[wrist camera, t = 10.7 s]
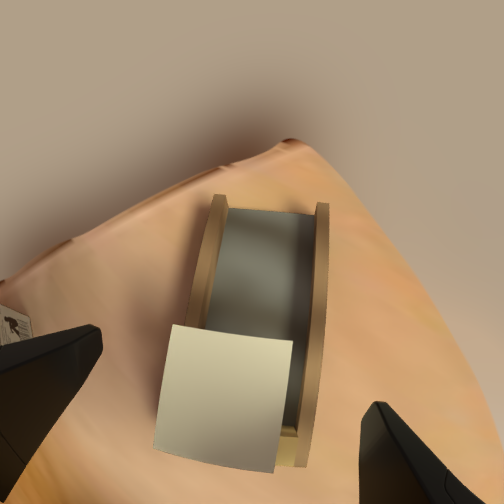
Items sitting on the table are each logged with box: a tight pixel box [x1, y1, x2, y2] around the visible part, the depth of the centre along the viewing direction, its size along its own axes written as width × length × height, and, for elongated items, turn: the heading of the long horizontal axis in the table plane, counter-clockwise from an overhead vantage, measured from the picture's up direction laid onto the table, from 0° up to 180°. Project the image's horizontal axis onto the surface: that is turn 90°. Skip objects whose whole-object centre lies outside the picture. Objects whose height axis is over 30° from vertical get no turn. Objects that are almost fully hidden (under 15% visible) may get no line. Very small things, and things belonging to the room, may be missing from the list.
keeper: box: [153, 324, 293, 473], centre depth 13 cm, size 5×4×11 cm
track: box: [184, 194, 329, 468], centre depth 19 cm, size 20×10×5 cm, turn 172°
